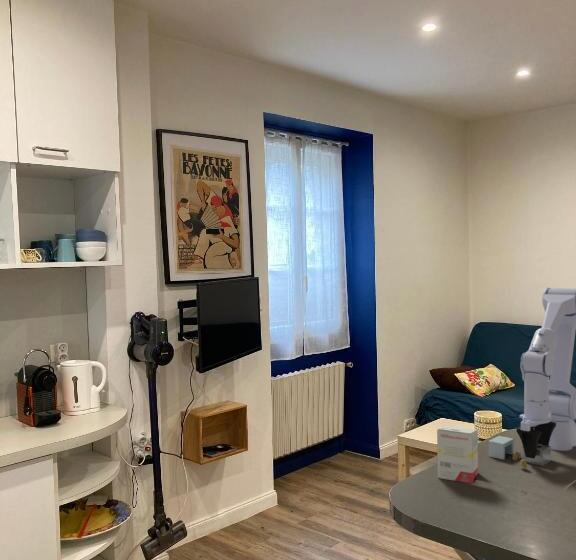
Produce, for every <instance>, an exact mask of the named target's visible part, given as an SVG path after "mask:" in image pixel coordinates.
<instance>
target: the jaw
mask: <svg viewBox="0 0 576 560" xmlns="http://www.w3.org/2000/svg"><path fill="white" fill-rule="evenodd" d="M551 452H552V449H551V446H548V445H543V444H537V451H536V456H535V458H534V459H533V458H528V457H526V456H525V452H524V448H523V447H522V460H523V459H524V460H526V462H527V463H529V464H533V465H538V466H542V467H543V466H545V465H546V464H549V463H550V462H551V461H552V459H551V458H552V457H551V456H552V453H551Z"/></svg>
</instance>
